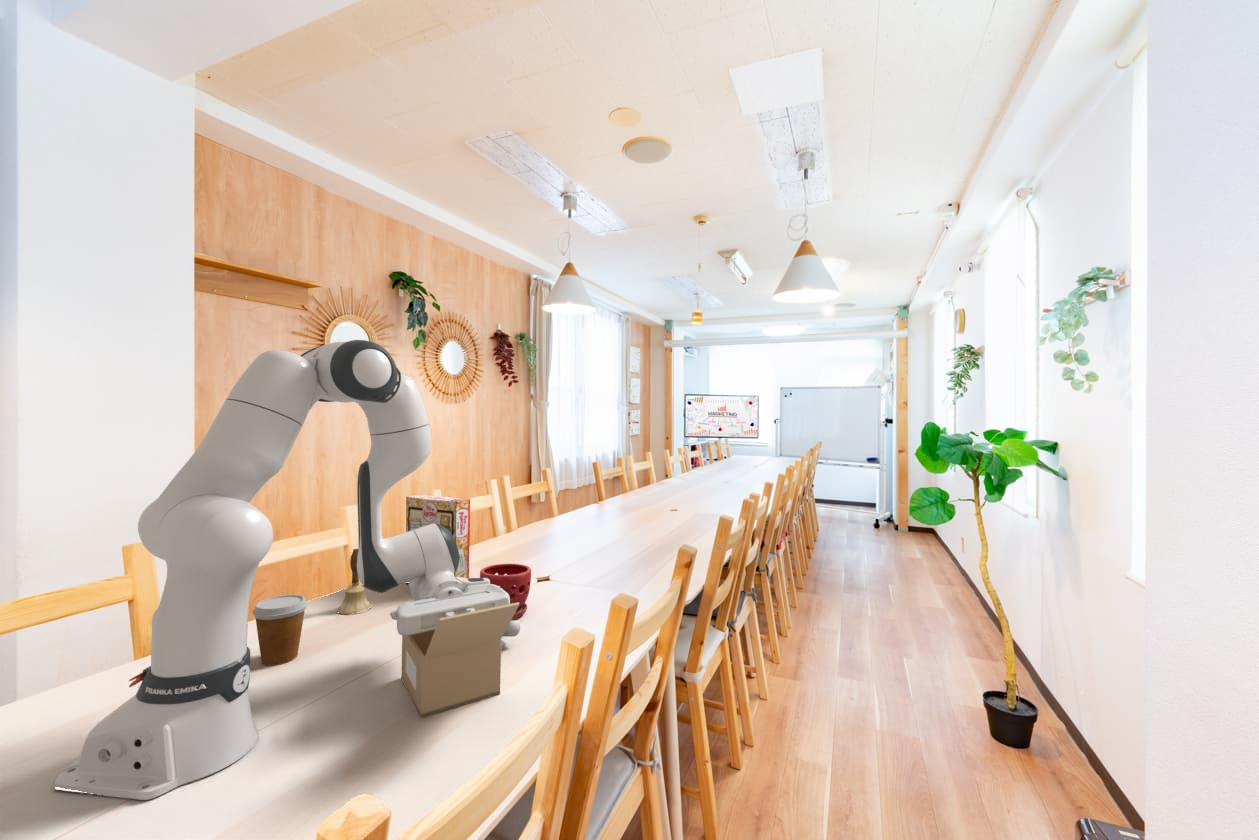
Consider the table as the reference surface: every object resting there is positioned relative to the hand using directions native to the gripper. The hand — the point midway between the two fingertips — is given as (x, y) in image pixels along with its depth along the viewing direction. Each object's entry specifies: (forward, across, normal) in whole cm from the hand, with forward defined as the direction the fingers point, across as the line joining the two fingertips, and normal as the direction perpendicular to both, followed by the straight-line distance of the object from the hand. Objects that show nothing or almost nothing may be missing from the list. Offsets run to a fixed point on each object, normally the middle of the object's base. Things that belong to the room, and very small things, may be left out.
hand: (467, 624), depth 89 cm
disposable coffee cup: (-40, -27, +15) cm, 50 cm away
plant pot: (-39, +22, +15) cm, 47 cm away
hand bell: (-63, -10, +15) cm, 65 cm away
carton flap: (+3, 0, 0) cm, 3 cm away
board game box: (-70, +13, +15) cm, 73 cm away
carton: (-10, 0, +15) cm, 18 cm away
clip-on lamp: (-25, +11, +16) cm, 31 cm away
